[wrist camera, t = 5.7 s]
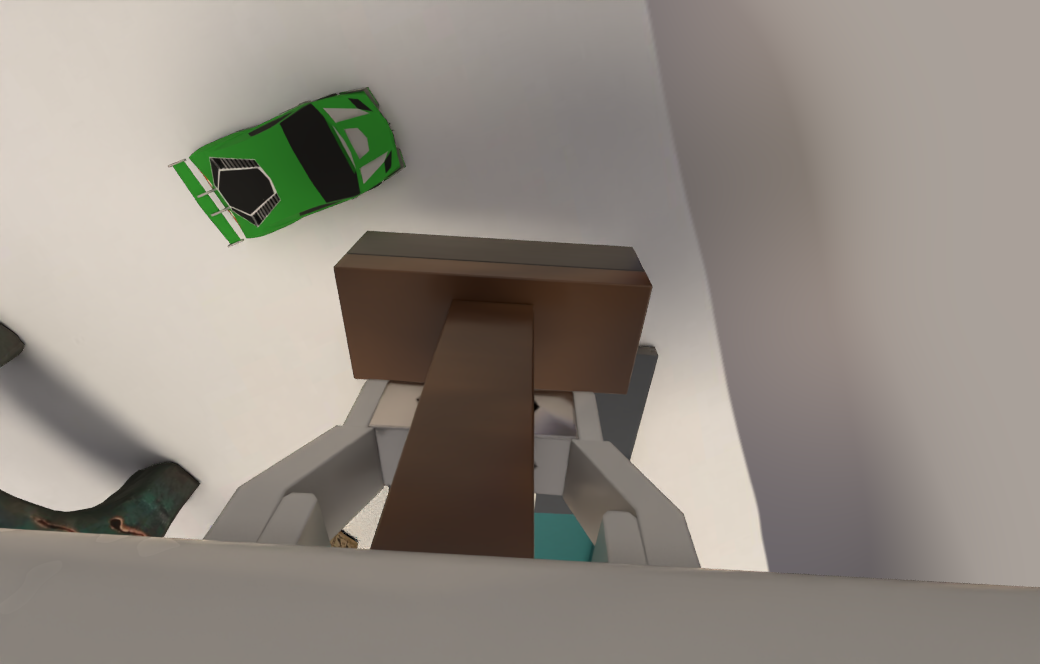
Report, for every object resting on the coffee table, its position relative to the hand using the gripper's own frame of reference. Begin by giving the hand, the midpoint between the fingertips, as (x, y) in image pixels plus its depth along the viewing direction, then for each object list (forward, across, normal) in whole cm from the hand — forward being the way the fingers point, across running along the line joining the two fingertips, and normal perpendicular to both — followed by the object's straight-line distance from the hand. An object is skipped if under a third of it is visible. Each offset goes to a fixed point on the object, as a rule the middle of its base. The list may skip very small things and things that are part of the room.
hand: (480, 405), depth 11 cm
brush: (+6, 0, 0) cm, 6 cm away
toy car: (+15, +10, -2) cm, 19 cm away
